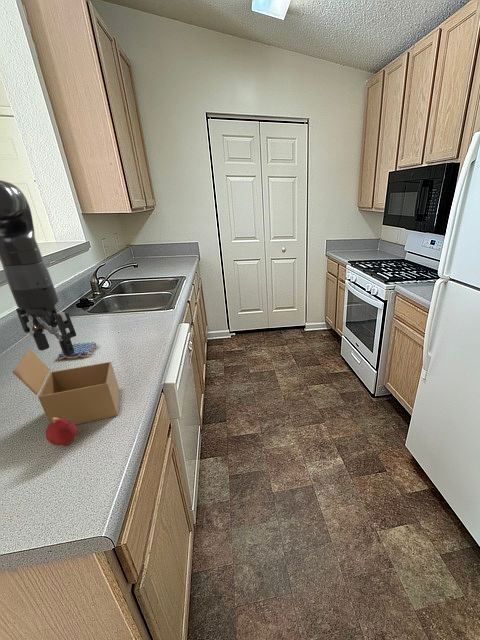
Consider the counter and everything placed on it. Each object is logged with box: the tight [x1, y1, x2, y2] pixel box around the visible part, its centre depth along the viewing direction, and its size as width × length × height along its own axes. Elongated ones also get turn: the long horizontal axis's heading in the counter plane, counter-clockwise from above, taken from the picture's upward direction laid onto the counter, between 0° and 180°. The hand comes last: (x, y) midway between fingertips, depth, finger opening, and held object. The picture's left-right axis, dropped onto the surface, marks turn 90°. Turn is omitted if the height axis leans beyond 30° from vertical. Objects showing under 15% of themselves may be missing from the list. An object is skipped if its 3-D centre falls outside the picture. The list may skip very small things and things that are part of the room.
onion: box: [45, 418, 78, 447], centre depth 77 cm, size 6×6×8 cm
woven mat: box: [58, 341, 98, 360], centre depth 125 cm, size 10×11×2 cm
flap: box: [11, 348, 51, 396], centre depth 83 cm, size 7×14×1 cm
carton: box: [37, 361, 121, 426], centre depth 90 cm, size 15×14×10 cm
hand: (56, 351), depth 79 cm, fingers open, 8 cm apart
